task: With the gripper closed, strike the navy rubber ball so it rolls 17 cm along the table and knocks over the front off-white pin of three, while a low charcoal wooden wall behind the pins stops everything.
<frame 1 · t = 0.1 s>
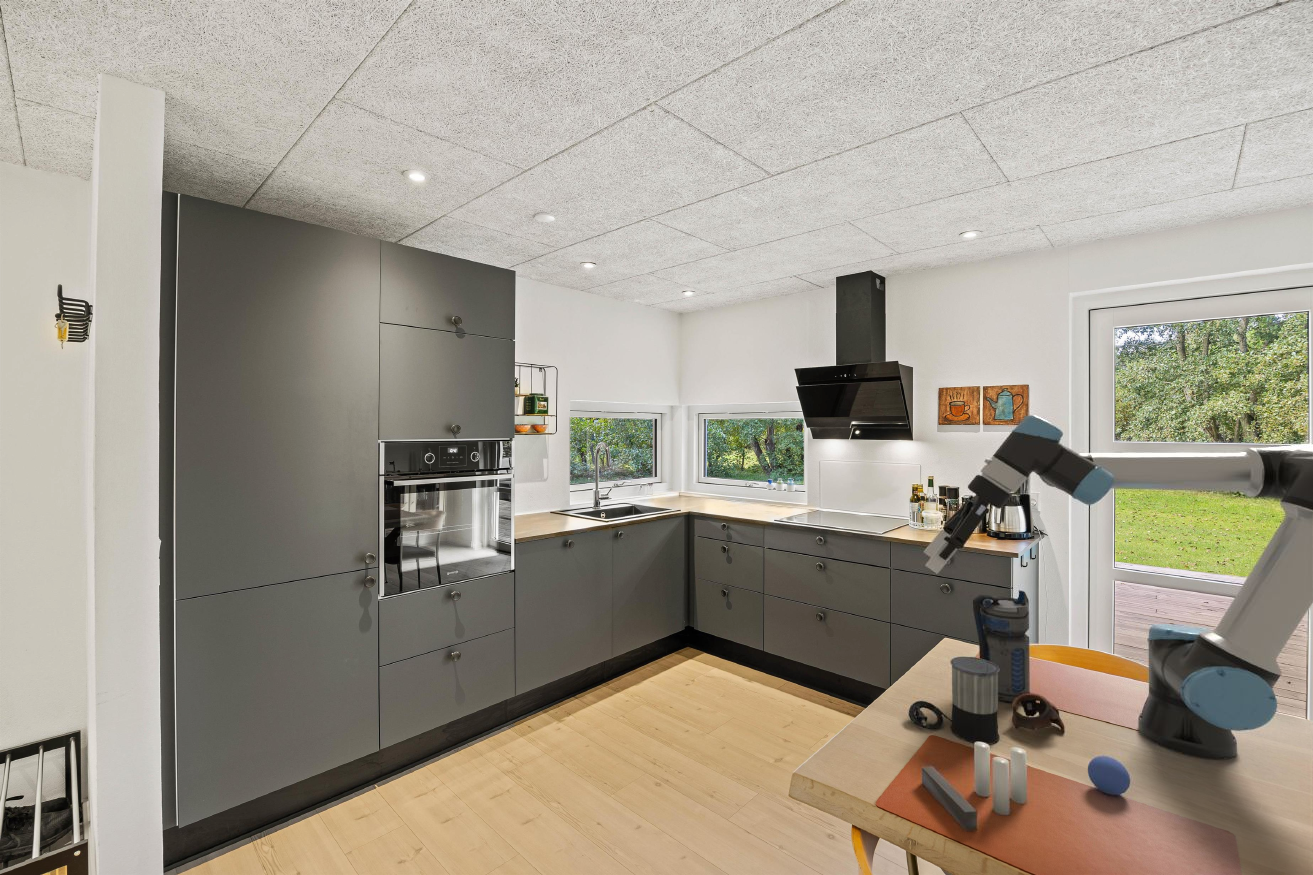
hand: (929, 562, 128), 36 cm above the table, tool tilted 35°, fingers open, 13 cm apart
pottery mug: (1035, 728, 129), on the table
left pin: (1001, 810, 101), on the table
milk frother: (953, 730, 128), on the table
ball: (1108, 775, 106), on the table
back wall: (947, 804, 103), on the table
beverage bottle: (1001, 695, 144), on the table
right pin: (982, 792, 106), on the table
front pin: (1018, 799, 104), on the table
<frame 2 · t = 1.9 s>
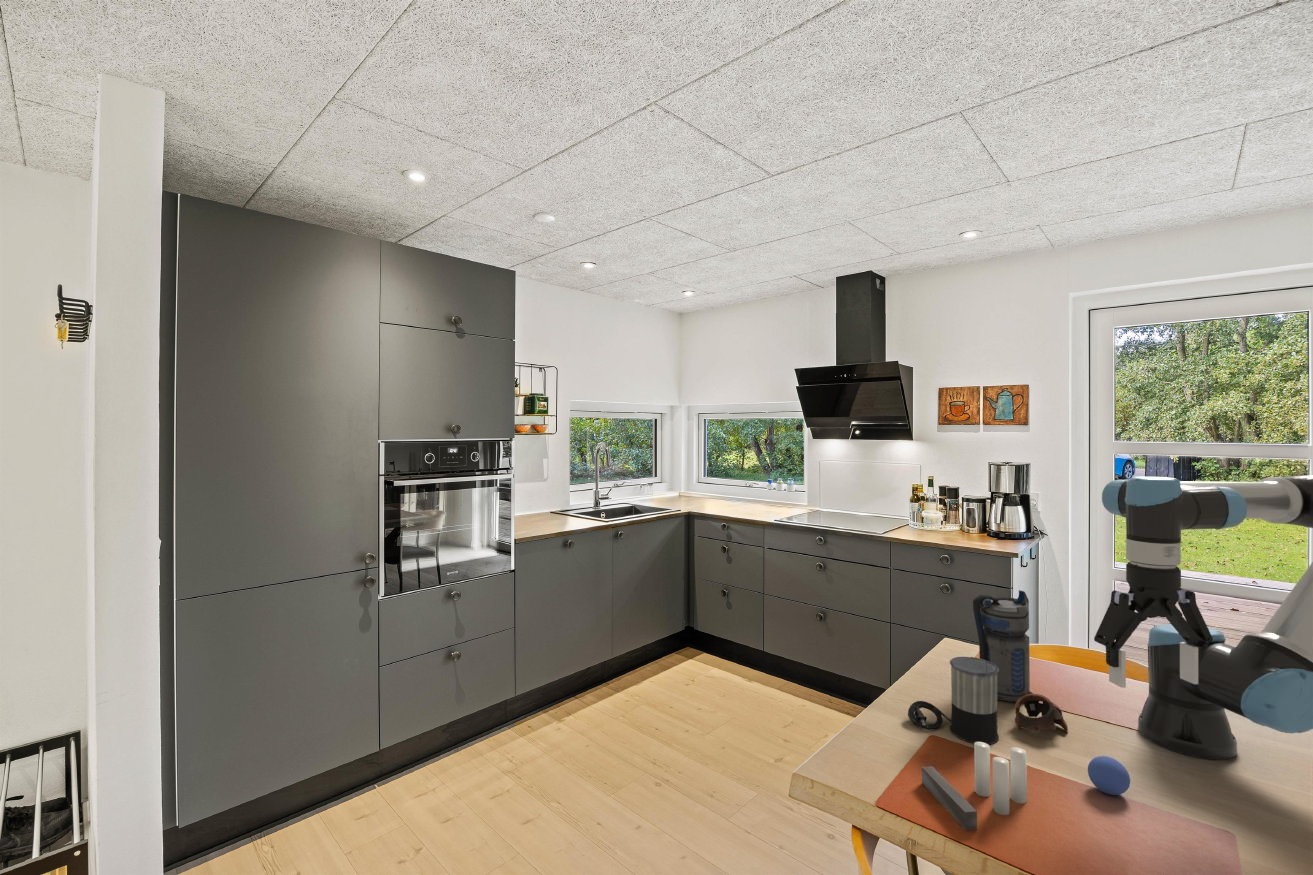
hand: (1153, 682, 107), 19 cm above the table, tool pointing down, fingers open, 13 cm apart
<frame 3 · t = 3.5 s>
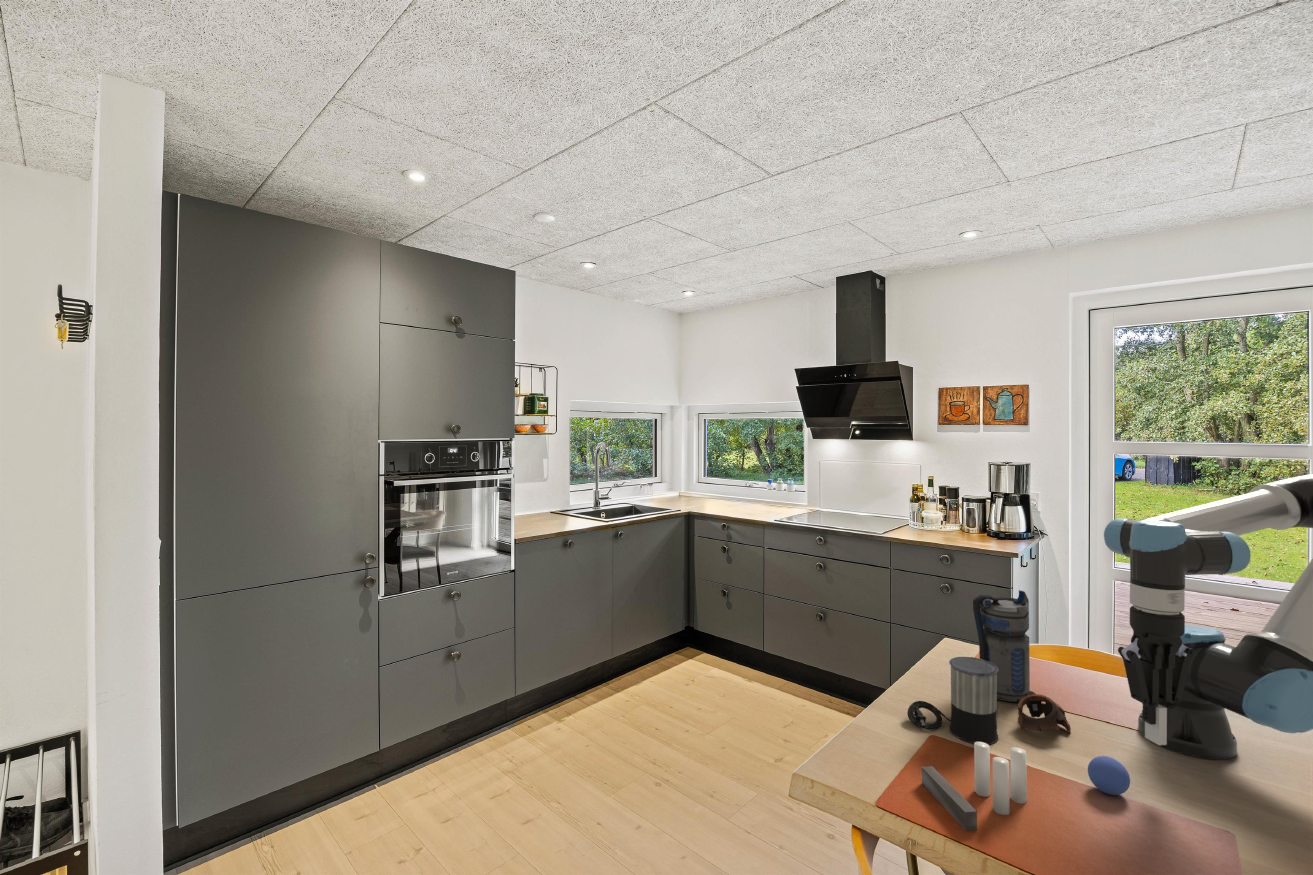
hand: (1155, 740, 106), 9 cm above the table, tool pointing down, fingers closed
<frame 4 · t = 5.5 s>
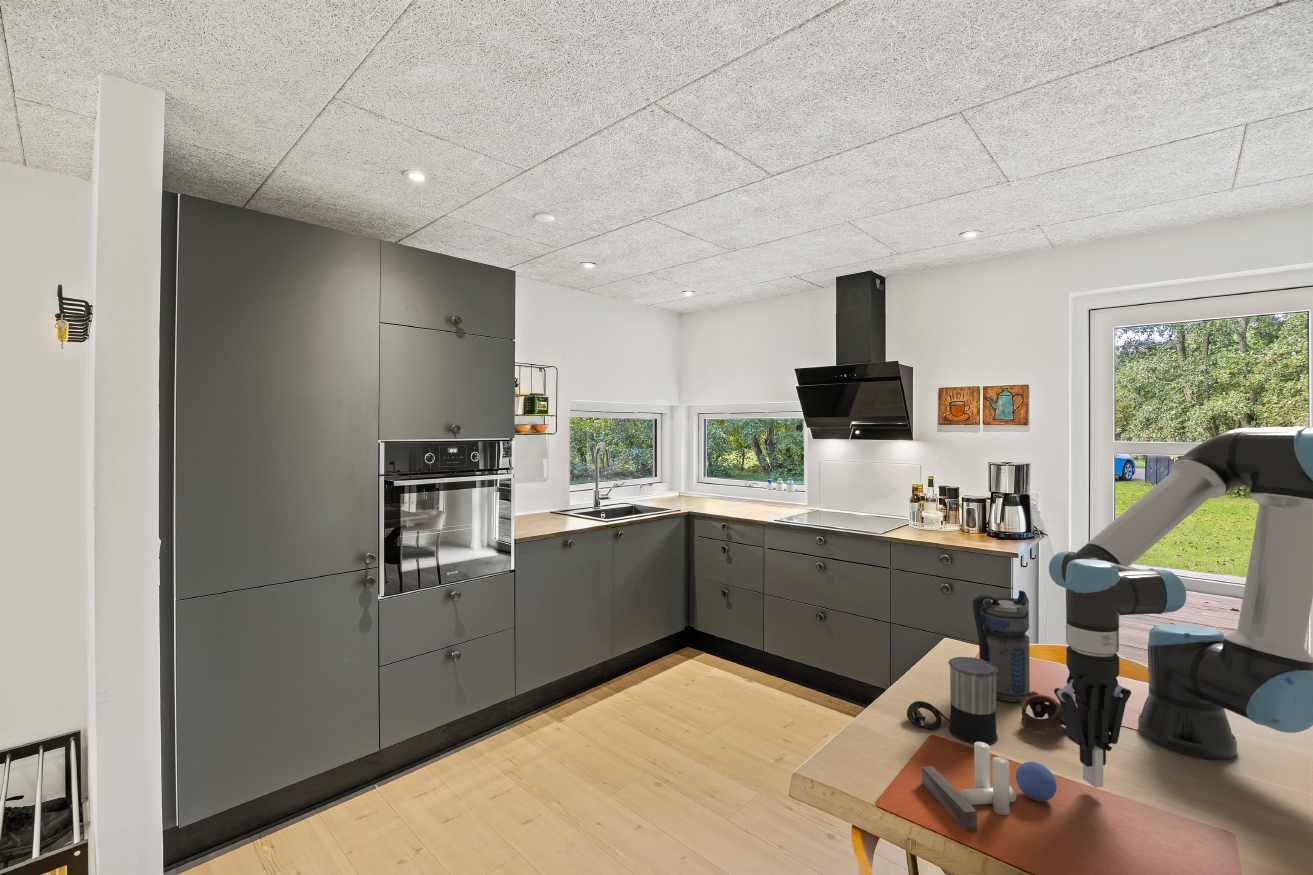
hand: (1092, 782, 105), 2 cm above the table, tool pointing down, fingers closed
ball: (1035, 780, 104), on the table
front pin: (1011, 793, 104), point 1 cm above the table, tilted 90°
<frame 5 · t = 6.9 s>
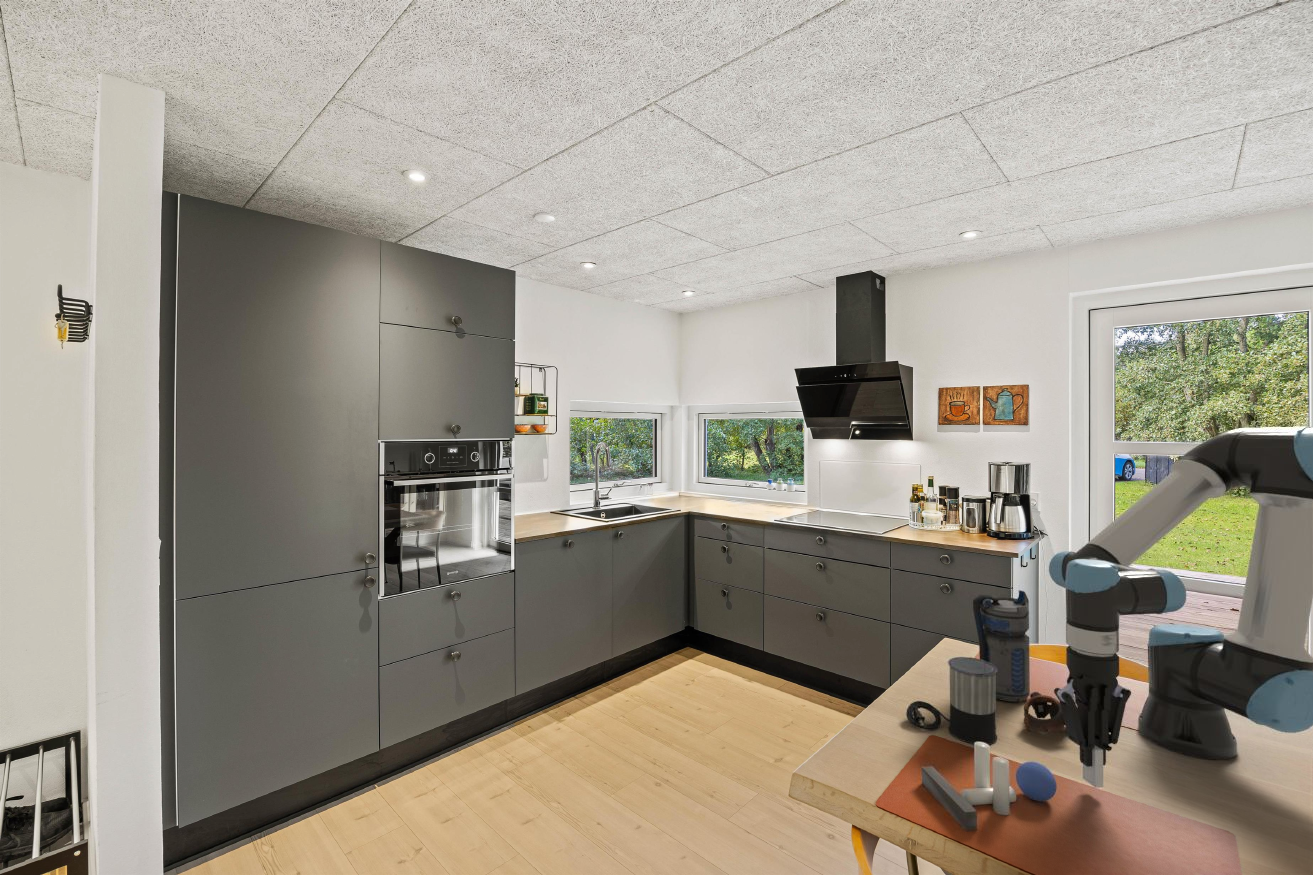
hand: (1092, 782, 105), 2 cm above the table, tool pointing down, fingers closed
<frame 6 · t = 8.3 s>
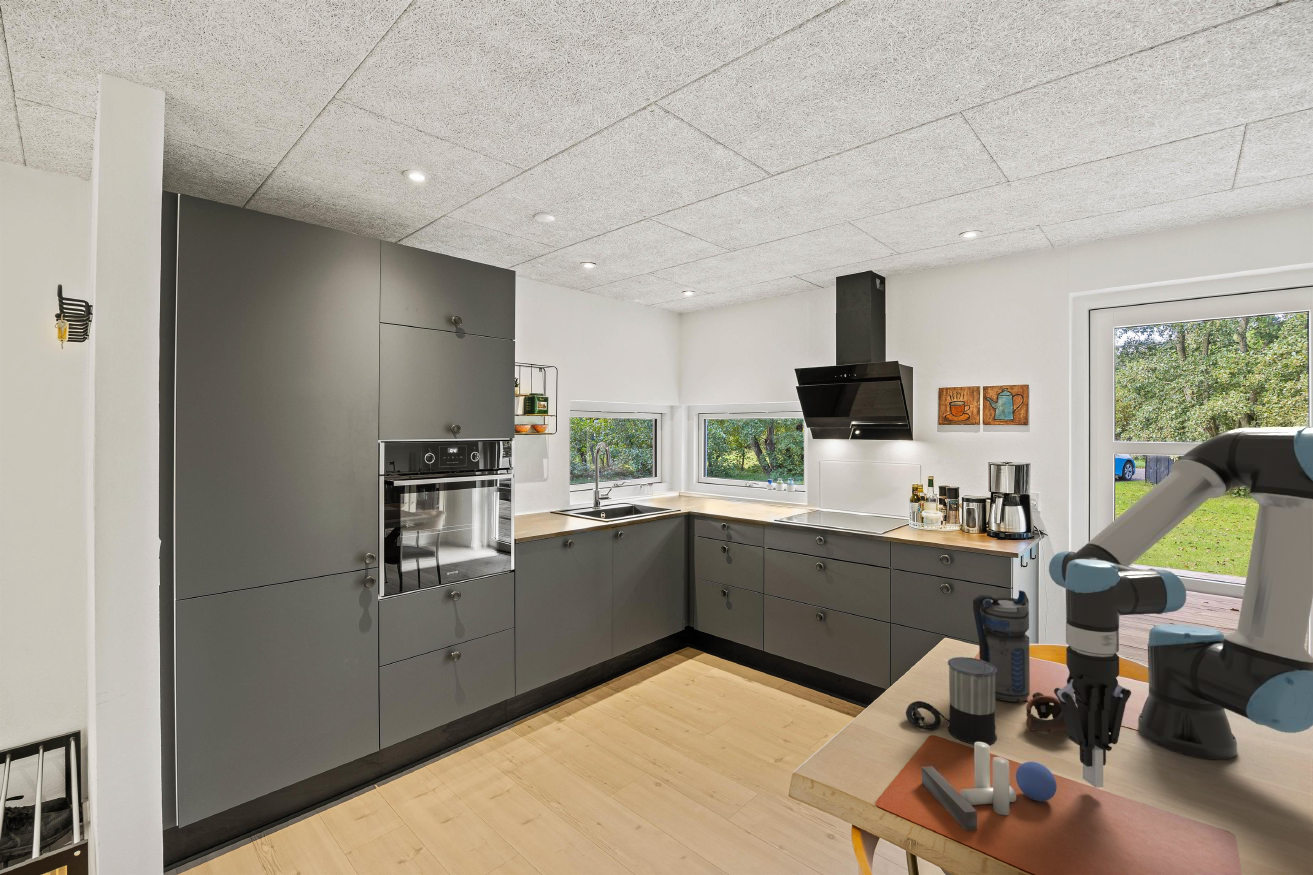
hand: (1092, 782, 105), 2 cm above the table, tool pointing down, fingers closed
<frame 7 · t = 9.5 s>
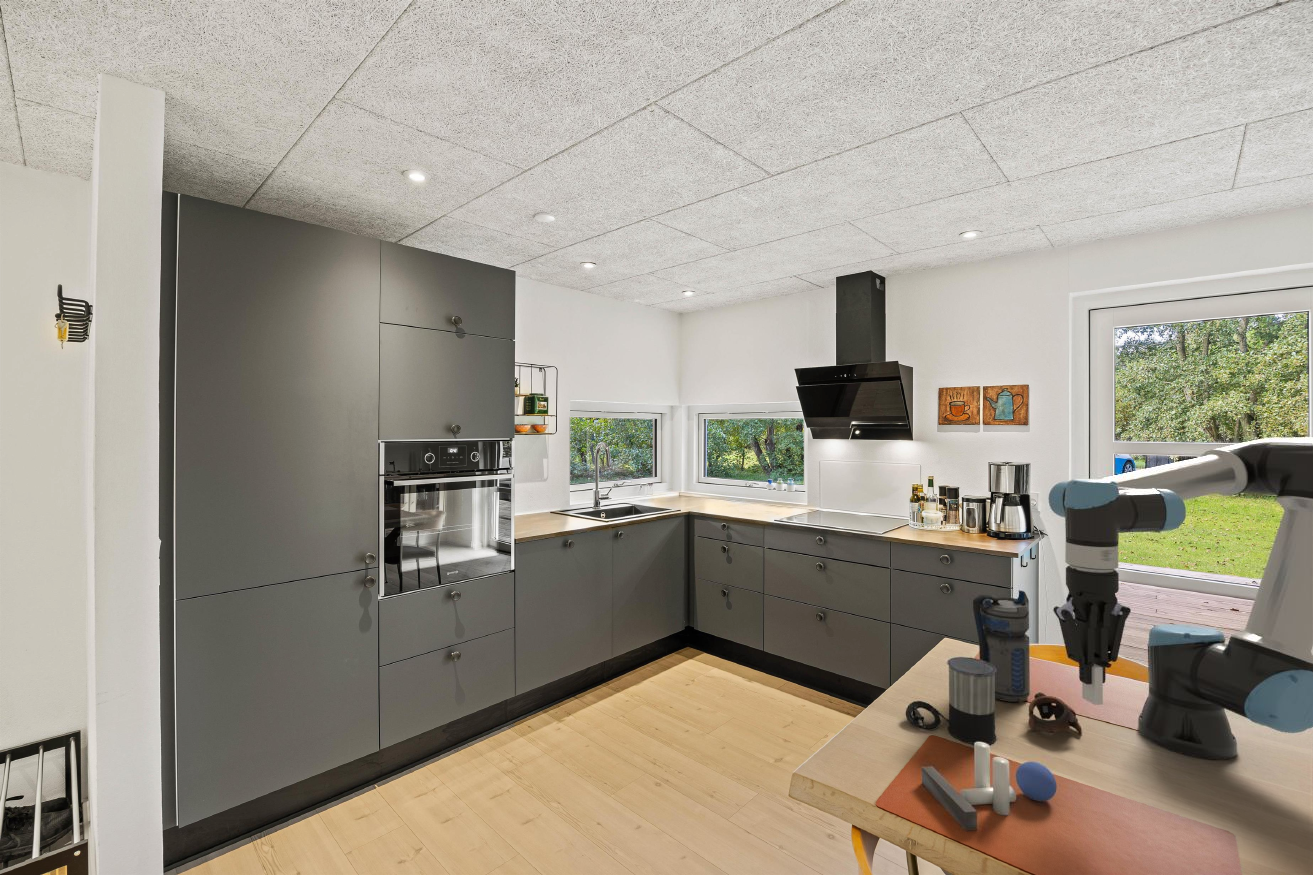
hand: (1092, 700, 105), 16 cm above the table, tool pointing down, fingers closed
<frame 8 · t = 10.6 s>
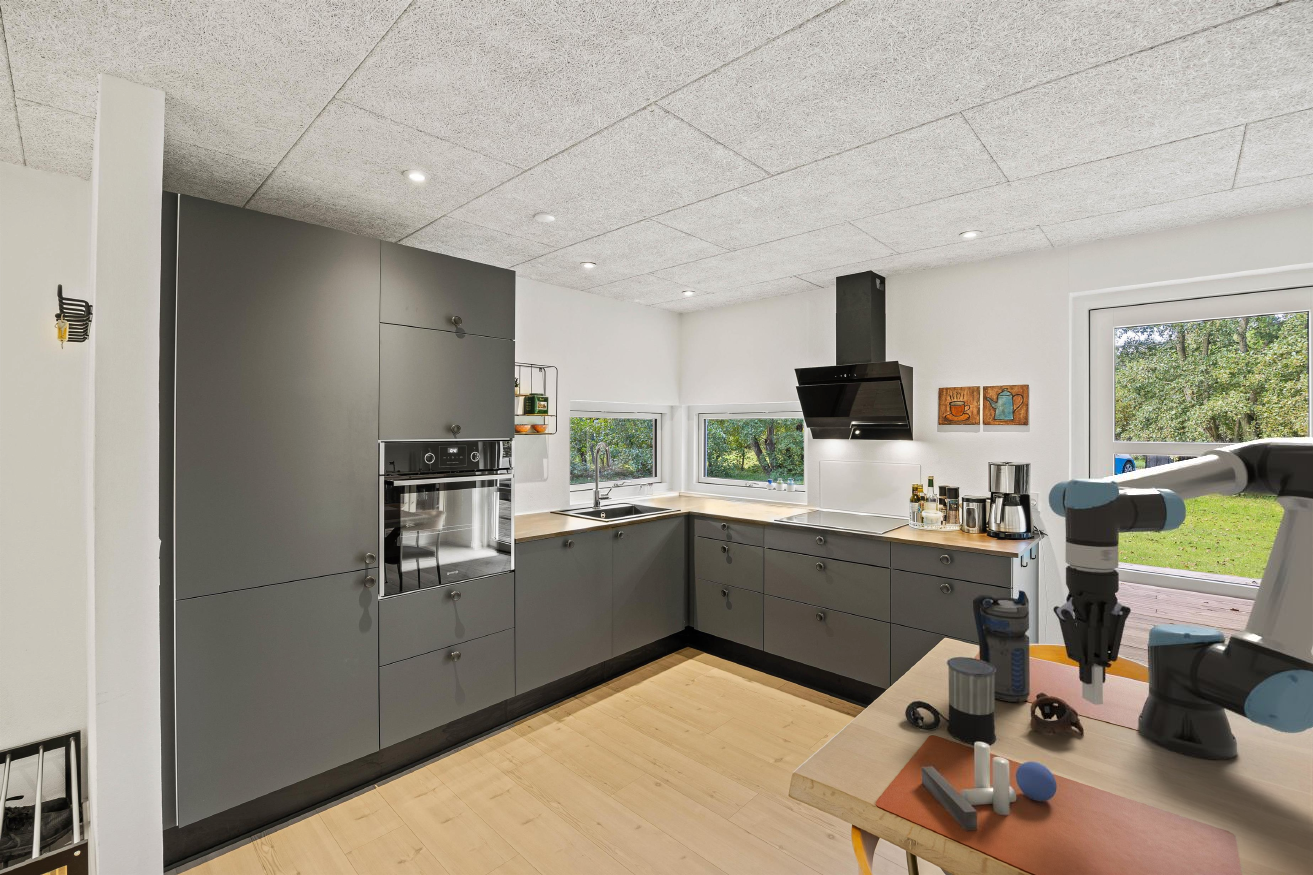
hand: (1092, 700, 105), 16 cm above the table, tool pointing down, fingers closed
at the end: front pin tilted 90°; front pin never touched the robot; ball moved 13.8 cm from its start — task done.
